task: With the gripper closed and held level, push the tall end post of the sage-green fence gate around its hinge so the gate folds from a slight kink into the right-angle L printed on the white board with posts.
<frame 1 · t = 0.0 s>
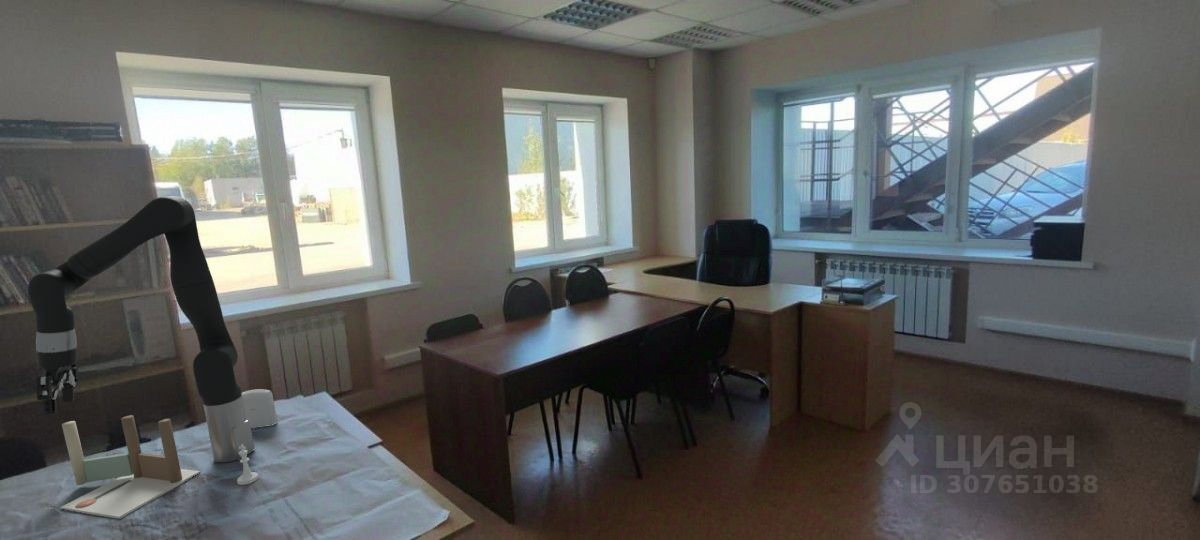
hand: (59, 406, 146), 22 cm above the table, tool pointing down, fingers open, 8 cm apart
chess piece: (248, 480, 149), on the table
photo printer: (260, 426, 181), on the table
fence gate: (98, 449, 149), point 10 cm above the table, hinge at 30.0°
white board with posts: (140, 477, 152), on the table
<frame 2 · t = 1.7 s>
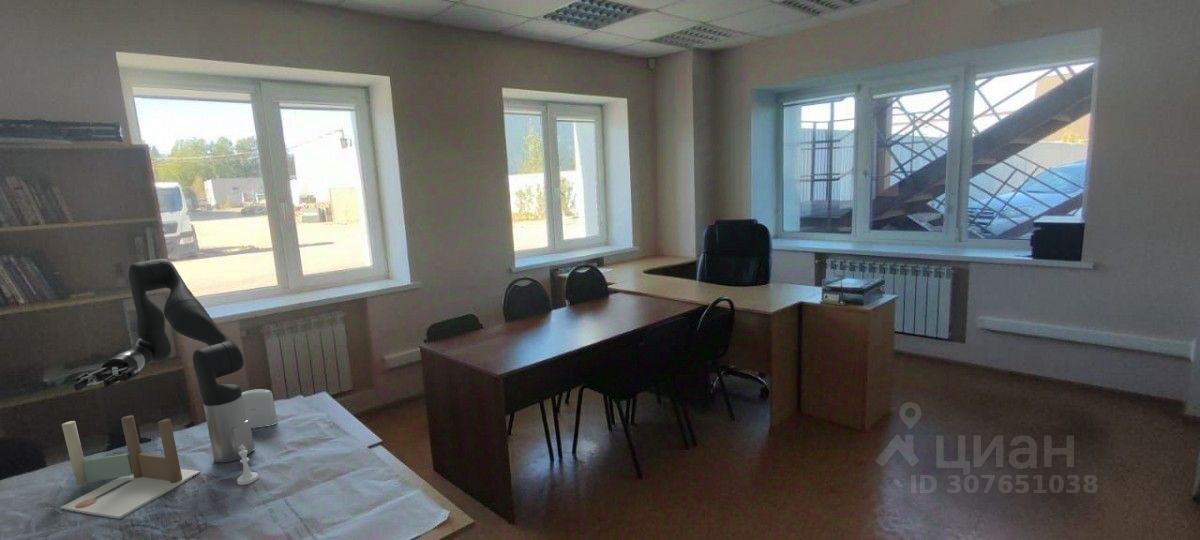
hand: (91, 385, 156), 24 cm above the table, tool horizontal, fingers open, 6 cm apart
nothing on the table moved.
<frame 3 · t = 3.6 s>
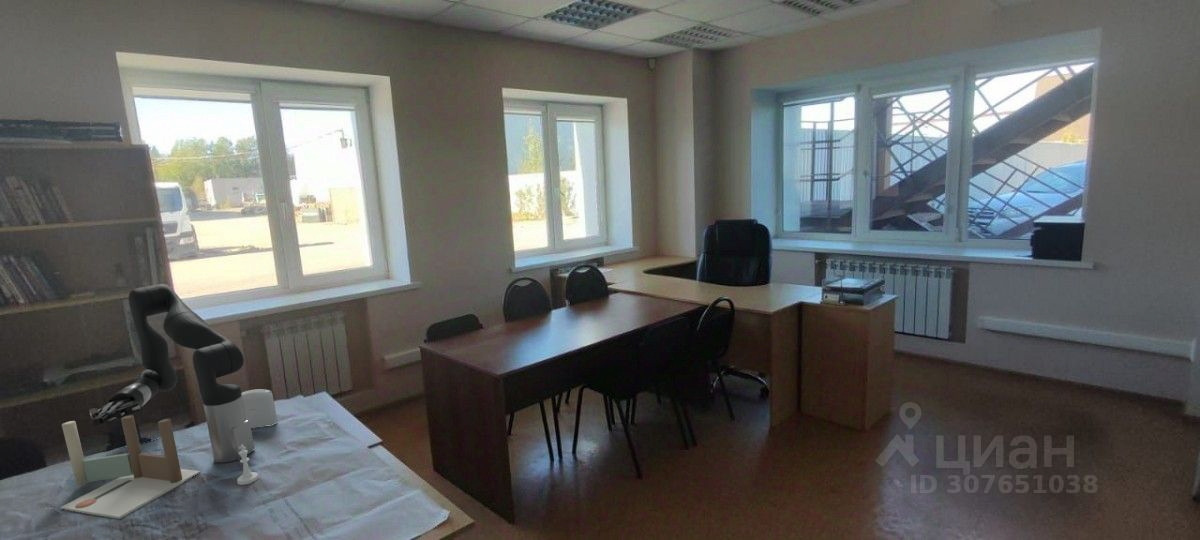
hand: (97, 422, 157), 13 cm above the table, tool horizontal, fingers closed
nothing on the table moved.
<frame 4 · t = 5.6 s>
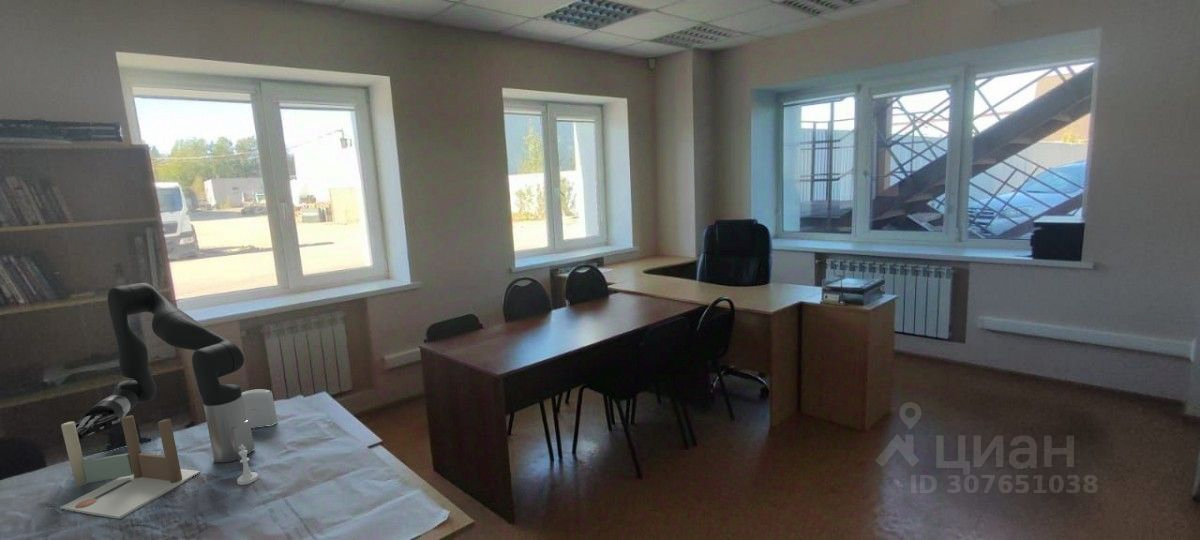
hand: (74, 438, 148), 13 cm above the table, tool horizontal, fingers closed
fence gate: (98, 450, 148), point 10 cm above the table, hinge at 31.4°, touching gripper
everything else where it was.
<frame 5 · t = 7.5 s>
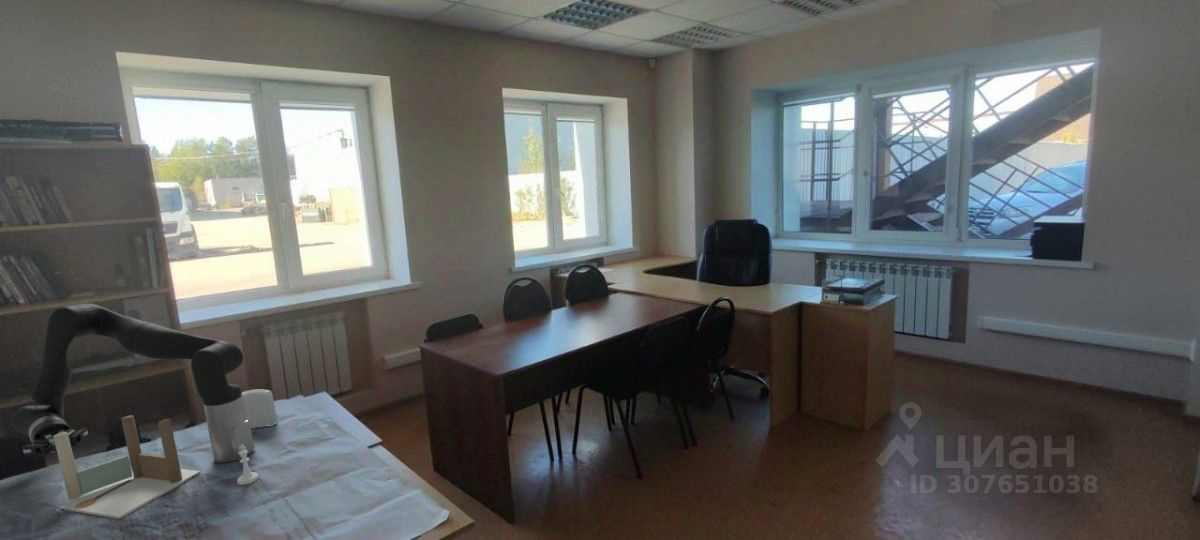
hand: (63, 450, 141), 13 cm above the table, tool horizontal, fingers closed
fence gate: (94, 457, 145), point 10 cm above the table, hinge at 65.6°, touching gripper
everything else where it was.
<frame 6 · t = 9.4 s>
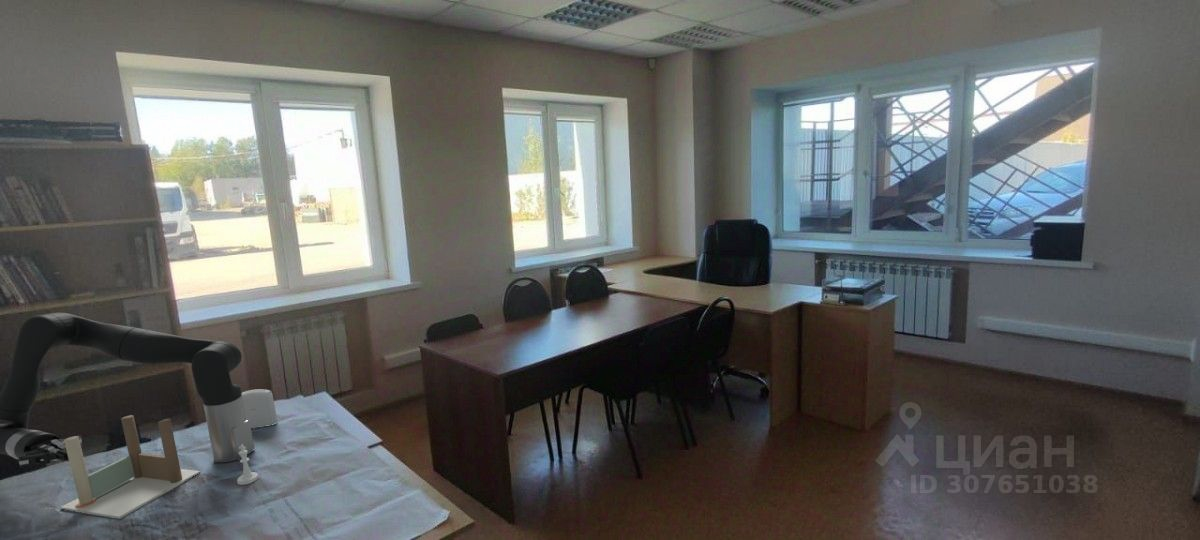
hand: (71, 455, 138), 13 cm above the table, tool horizontal, fingers closed
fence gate: (101, 459, 143), point 10 cm above the table, hinge at 91.5°, touching gripper
everything else where it was.
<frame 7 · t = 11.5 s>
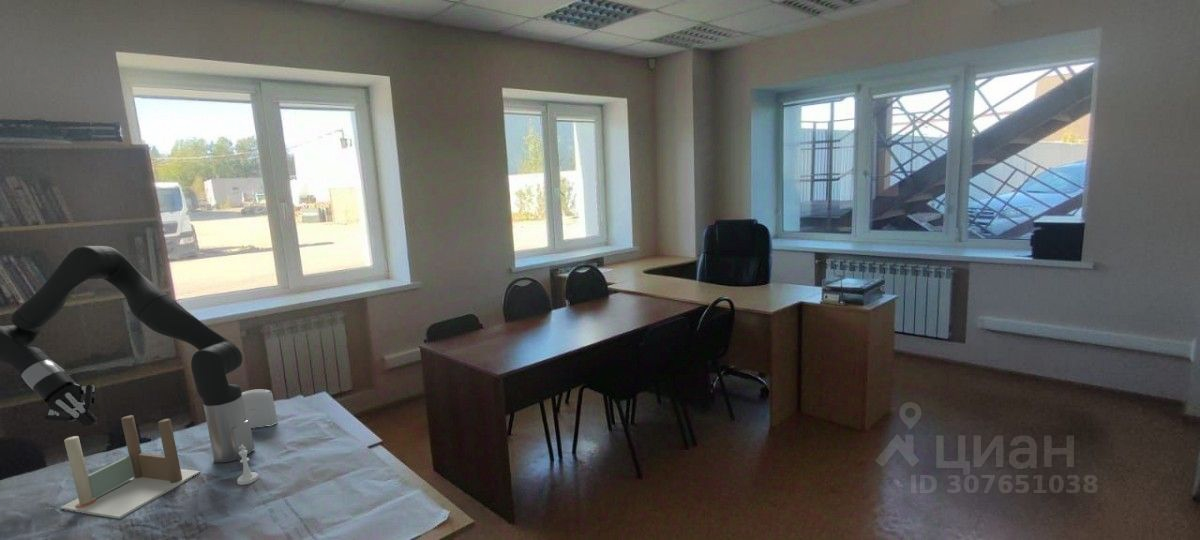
hand: (93, 424, 153), 15 cm above the table, tool tilted 45°, fingers closed
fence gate: (101, 459, 143), point 10 cm above the table, hinge at 91.5°
everything else where it was.
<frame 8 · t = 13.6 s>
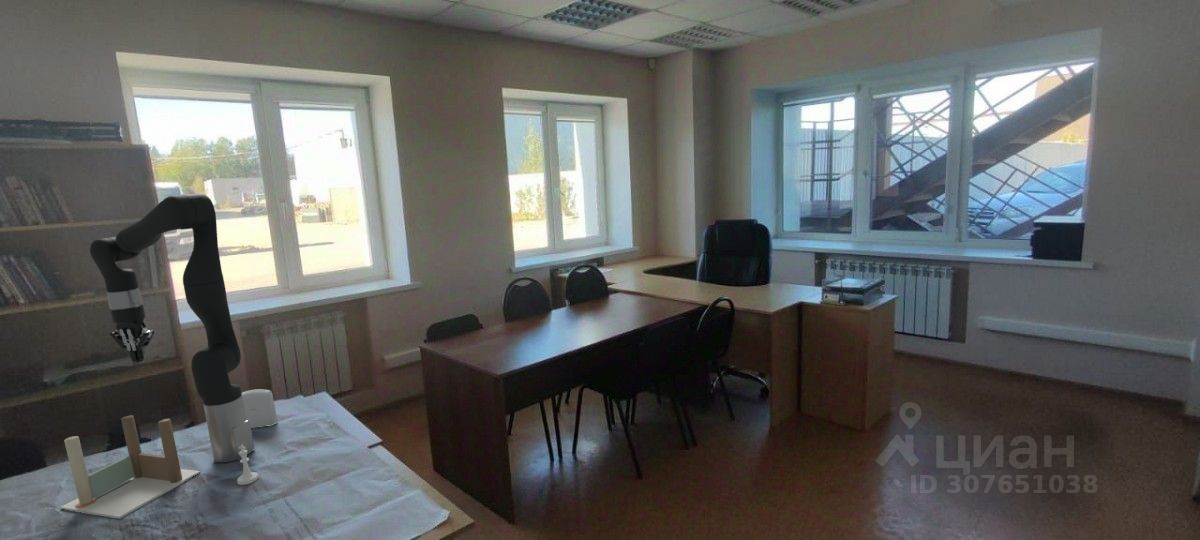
hand: (138, 361, 166), 27 cm above the table, tool pointing down, fingers closed
nothing on the table moved.
at the end: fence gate at +92° (first picture: +30°); chess piece moved 0.2 cm from its start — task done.
